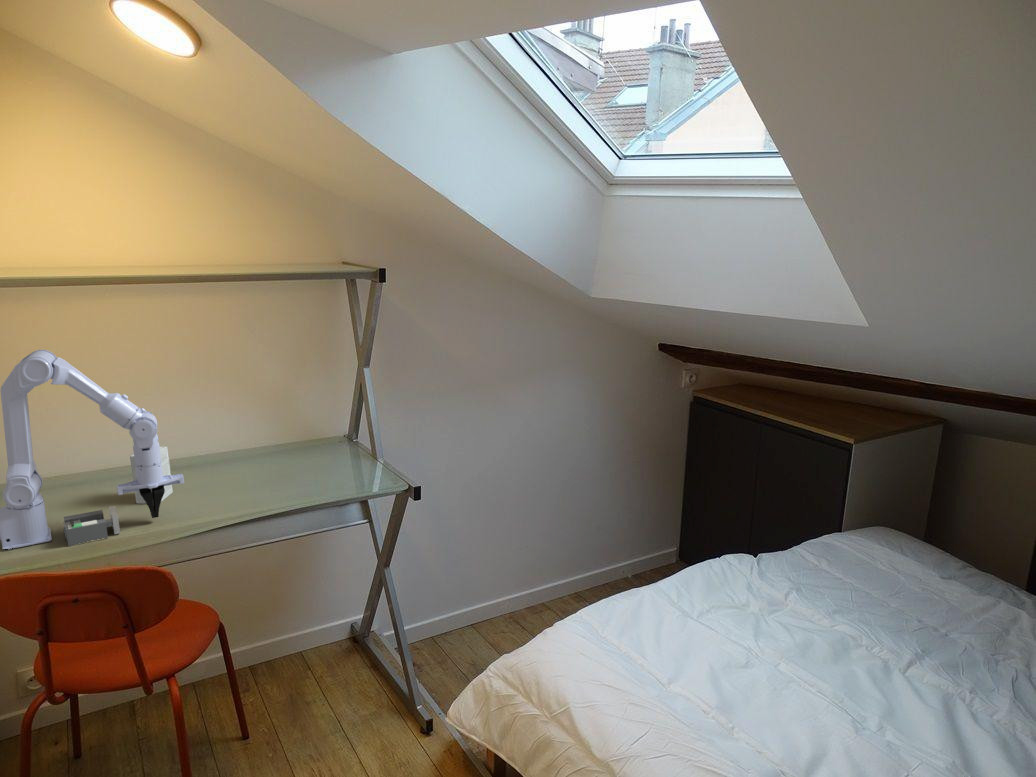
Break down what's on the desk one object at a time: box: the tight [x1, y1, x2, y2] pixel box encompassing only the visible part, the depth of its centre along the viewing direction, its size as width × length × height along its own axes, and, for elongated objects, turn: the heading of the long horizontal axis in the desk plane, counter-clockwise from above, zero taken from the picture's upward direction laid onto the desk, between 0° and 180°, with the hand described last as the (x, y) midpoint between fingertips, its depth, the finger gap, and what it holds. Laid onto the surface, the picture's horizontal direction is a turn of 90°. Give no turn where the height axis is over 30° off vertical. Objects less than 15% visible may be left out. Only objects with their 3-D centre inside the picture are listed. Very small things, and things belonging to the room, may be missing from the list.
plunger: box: [62, 505, 121, 541], centre depth 181 cm, size 11×8×4 cm
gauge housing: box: [63, 509, 109, 547], centre depth 180 cm, size 8×9×4 cm
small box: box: [129, 446, 174, 505], centre depth 203 cm, size 8×6×13 cm
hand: (154, 516), depth 188 cm, fingers closed
